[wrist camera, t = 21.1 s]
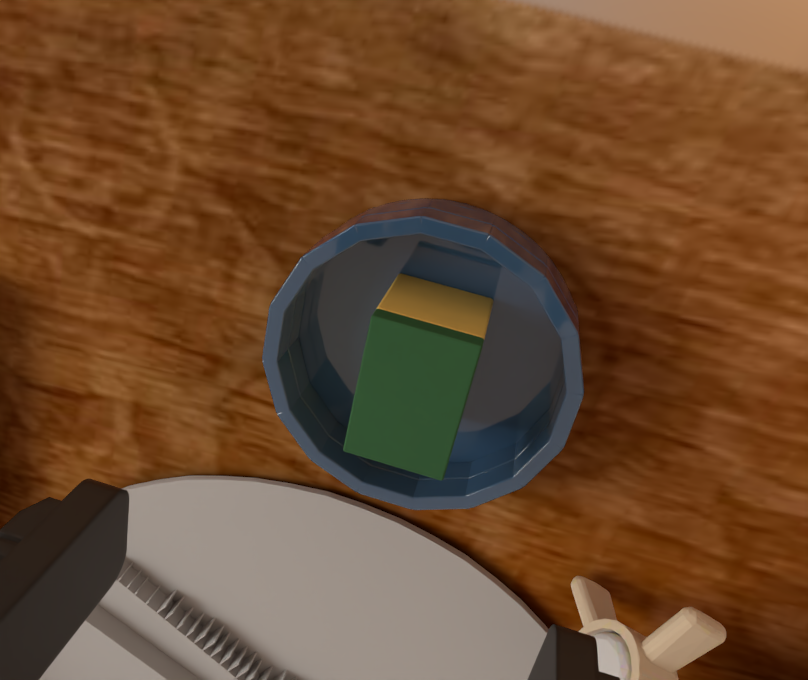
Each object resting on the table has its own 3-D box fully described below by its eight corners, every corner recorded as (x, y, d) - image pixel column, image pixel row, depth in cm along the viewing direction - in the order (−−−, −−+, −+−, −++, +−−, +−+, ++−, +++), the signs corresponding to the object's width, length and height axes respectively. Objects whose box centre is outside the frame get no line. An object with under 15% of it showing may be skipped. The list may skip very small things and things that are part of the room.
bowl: (237, 287, 24) (204, 315, 21) (483, 137, 20) (473, 151, 18) (389, 502, 26) (373, 547, 24) (633, 400, 23) (641, 442, 20)
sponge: (399, 271, 22) (370, 315, 19) (494, 298, 22) (482, 346, 18) (371, 393, 24) (341, 451, 21) (458, 418, 23) (442, 482, 20)
